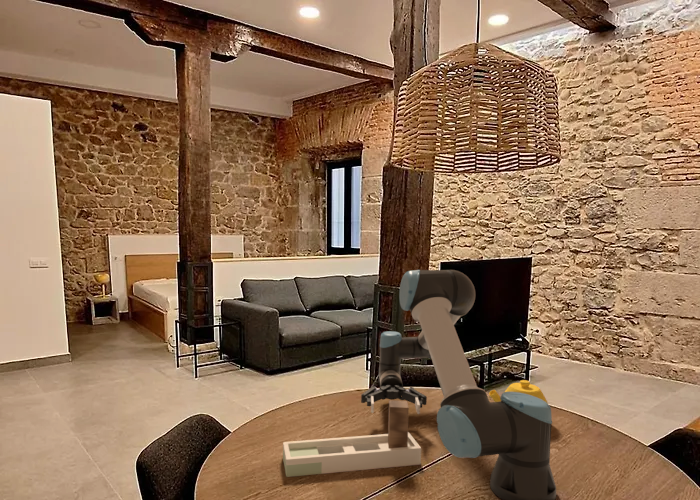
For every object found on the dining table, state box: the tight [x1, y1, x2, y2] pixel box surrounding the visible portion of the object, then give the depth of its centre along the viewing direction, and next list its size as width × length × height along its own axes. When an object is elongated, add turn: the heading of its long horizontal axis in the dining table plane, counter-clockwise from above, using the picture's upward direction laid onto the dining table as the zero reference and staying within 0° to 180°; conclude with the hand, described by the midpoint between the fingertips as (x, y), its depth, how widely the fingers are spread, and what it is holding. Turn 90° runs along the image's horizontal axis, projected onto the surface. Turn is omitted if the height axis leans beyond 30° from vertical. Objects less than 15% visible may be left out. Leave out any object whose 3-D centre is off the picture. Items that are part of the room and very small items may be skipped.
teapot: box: [488, 379, 549, 405], centre depth 160 cm, size 20×16×14 cm
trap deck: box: [282, 431, 422, 478], centre depth 132 cm, size 36×10×4 cm, turn 103°
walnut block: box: [387, 399, 409, 449], centre depth 134 cm, size 5×5×12 cm
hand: (395, 409), depth 143 cm, fingers open, 13 cm apart
